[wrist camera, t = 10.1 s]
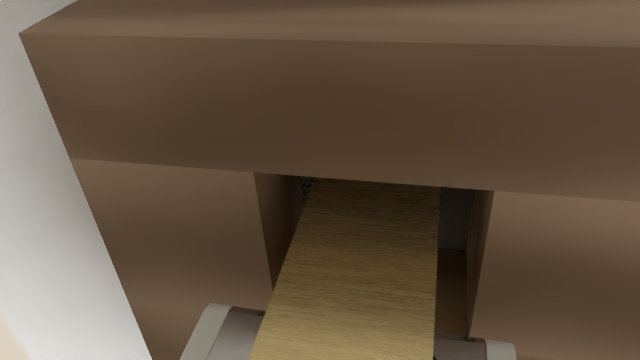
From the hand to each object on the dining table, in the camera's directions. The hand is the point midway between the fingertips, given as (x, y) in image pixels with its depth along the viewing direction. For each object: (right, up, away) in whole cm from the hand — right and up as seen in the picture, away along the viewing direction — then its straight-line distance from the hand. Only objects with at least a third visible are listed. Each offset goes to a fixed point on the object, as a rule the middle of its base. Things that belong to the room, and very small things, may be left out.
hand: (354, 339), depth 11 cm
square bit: (+1, +2, +3) cm, 4 cm away
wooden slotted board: (+1, 0, +6) cm, 7 cm away
